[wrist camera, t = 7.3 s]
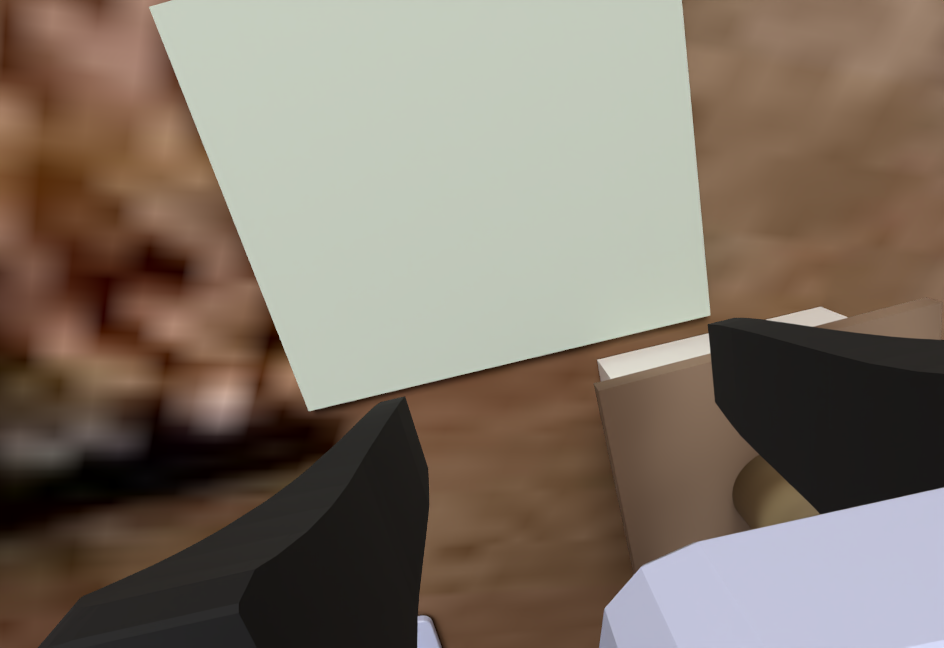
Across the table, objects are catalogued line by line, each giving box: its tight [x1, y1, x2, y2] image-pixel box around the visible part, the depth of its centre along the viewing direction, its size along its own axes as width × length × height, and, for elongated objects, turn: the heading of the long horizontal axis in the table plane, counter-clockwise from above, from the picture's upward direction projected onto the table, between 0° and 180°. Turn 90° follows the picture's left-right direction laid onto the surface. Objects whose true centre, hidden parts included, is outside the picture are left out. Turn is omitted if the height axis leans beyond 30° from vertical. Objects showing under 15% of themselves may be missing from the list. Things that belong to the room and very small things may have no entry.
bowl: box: [597, 307, 848, 381], centre depth 21 cm, size 10×10×4 cm
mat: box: [149, 0, 710, 411], centre depth 19 cm, size 18×16×1 cm
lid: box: [594, 297, 942, 574], centre depth 18 cm, size 12×12×4 cm
